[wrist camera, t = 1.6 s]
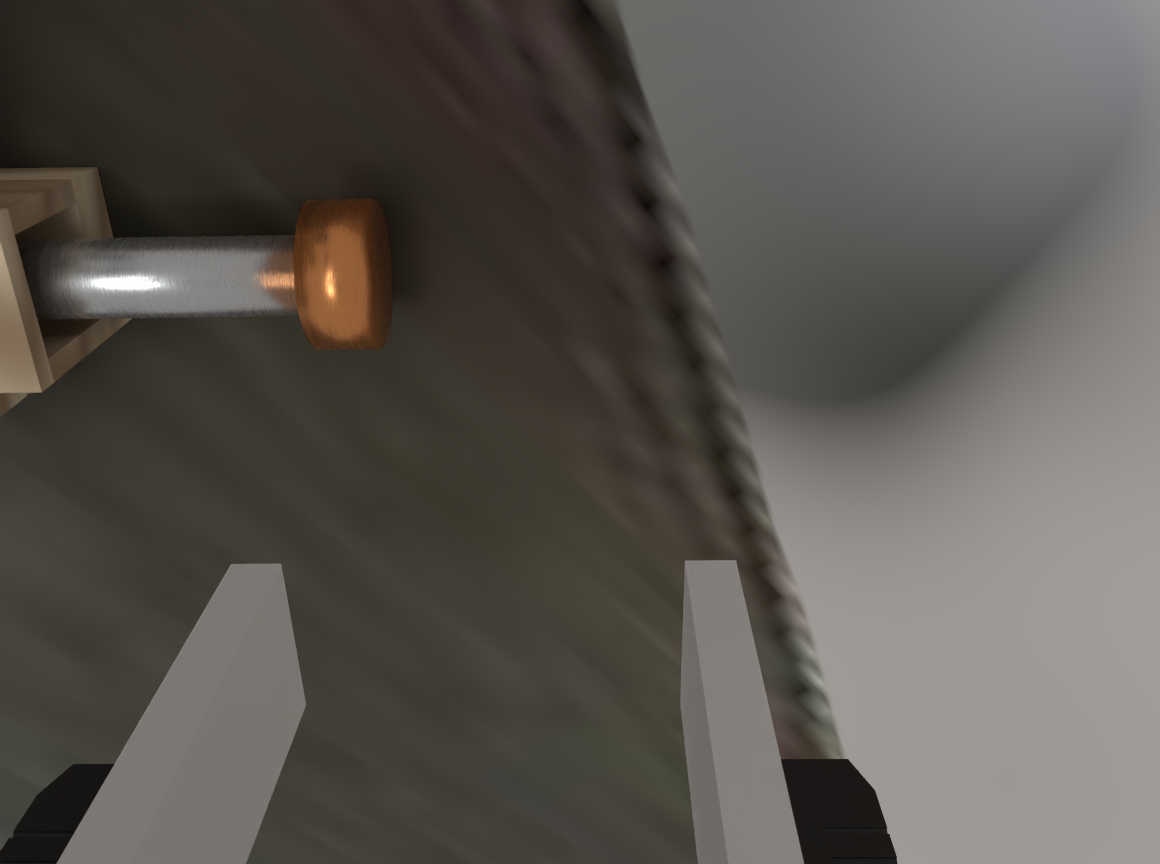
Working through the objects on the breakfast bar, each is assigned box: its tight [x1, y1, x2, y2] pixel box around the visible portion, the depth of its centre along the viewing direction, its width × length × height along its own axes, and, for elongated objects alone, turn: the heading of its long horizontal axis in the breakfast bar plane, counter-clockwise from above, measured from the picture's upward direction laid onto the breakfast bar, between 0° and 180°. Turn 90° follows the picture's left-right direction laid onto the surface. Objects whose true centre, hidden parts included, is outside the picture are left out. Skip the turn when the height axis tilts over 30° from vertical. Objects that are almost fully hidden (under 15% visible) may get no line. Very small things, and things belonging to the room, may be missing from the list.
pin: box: [16, 199, 393, 350], centre depth 33 cm, size 5×17×5 cm, turn 91°
